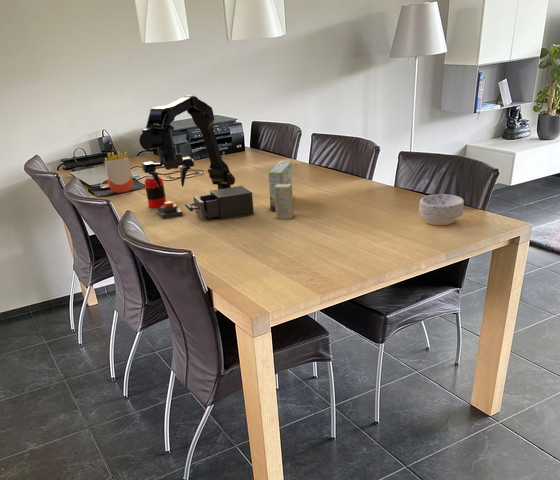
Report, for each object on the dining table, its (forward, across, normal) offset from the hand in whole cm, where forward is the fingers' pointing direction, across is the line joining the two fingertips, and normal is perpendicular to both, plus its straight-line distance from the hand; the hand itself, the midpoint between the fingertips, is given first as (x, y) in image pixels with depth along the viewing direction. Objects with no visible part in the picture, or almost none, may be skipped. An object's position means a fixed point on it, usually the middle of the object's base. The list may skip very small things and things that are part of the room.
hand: (171, 188), depth 219 cm
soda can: (+13, -2, +27) cm, 30 cm away
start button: (+10, 0, +12) cm, 15 cm away
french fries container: (+13, -12, +63) cm, 66 cm away
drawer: (+12, +13, -1) cm, 18 cm away
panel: (+13, 0, +12) cm, 17 cm away
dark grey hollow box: (+13, +23, -1) cm, 26 cm away
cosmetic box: (+13, +39, -18) cm, 45 cm away
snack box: (+13, +45, 0) cm, 47 cm away
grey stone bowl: (+13, +84, -54) cm, 101 cm away
